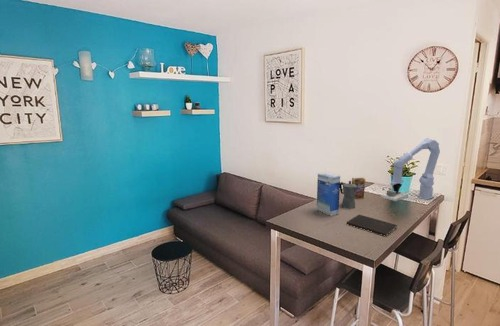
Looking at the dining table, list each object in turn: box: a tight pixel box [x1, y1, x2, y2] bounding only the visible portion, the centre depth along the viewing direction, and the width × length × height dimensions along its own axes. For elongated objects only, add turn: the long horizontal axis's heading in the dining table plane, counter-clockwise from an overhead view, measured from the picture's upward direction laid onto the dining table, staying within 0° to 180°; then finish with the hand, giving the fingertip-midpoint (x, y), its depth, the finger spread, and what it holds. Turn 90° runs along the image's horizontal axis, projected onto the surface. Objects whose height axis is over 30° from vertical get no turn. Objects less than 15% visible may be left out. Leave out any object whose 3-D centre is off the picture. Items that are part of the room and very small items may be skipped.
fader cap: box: [386, 189, 396, 197], centre depth 215 cm, size 4×5×4 cm
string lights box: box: [316, 171, 341, 217], centre depth 188 cm, size 13×8×26 cm, turn 32°
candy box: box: [351, 177, 366, 199], centre depth 217 cm, size 9×4×15 cm, turn 98°
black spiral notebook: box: [346, 214, 399, 237], centre depth 168 cm, size 16×23×2 cm
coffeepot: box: [340, 180, 358, 209], centre depth 201 cm, size 15×9×18 cm, turn 33°
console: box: [380, 191, 408, 202], centre depth 218 cm, size 17×11×2 cm, turn 125°
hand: (396, 193), depth 219 cm, fingers closed
